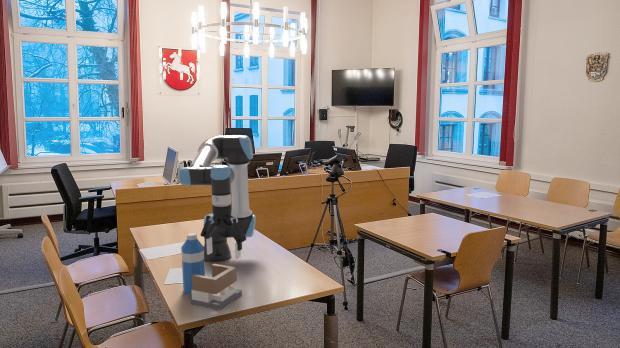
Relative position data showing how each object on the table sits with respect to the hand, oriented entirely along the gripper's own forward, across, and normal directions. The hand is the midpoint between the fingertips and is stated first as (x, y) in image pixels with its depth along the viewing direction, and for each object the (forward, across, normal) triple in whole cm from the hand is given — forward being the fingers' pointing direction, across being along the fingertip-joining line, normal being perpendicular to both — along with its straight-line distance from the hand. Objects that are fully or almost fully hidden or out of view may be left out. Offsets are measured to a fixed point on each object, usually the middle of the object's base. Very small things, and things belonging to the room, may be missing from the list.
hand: (223, 255), depth 185 cm
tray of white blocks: (+23, -4, -1) cm, 23 cm away
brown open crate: (+13, -4, -1) cm, 14 cm away
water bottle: (+20, -18, +3) cm, 27 cm away
